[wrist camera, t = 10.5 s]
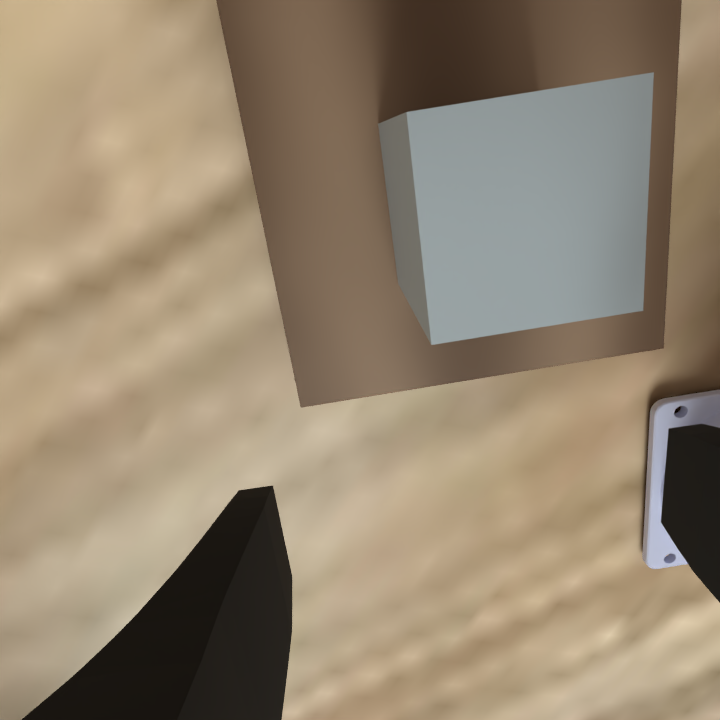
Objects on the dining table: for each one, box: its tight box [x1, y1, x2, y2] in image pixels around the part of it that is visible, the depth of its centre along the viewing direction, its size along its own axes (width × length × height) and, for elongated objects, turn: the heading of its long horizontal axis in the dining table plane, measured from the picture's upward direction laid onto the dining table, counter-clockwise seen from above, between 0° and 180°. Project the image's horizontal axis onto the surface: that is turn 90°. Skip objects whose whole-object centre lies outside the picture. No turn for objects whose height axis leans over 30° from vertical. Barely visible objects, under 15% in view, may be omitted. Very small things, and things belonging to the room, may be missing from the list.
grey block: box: [378, 72, 654, 345], centre depth 13 cm, size 4×4×6 cm
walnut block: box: [217, 0, 681, 407], centre depth 17 cm, size 12×12×3 cm
